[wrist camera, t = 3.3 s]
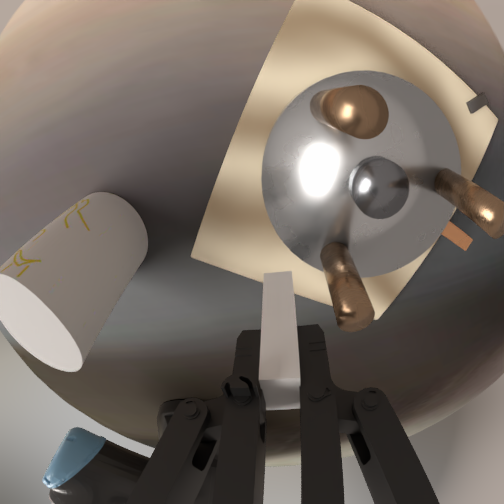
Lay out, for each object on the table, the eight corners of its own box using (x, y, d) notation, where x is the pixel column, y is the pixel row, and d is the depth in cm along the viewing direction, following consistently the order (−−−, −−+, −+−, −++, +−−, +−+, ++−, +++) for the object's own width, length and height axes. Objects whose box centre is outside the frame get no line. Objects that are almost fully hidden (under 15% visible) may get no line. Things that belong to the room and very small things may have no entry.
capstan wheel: (418, 297, 22) (451, 361, 15) (230, 224, 19) (211, 298, 12) (497, 171, 15) (559, 210, 8) (313, 35, 12) (348, -8, 5)
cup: (111, 173, 19) (5, 251, 9) (165, 251, 23) (106, 365, 13) (61, 219, 22) (-20, 296, 11) (109, 282, 25) (52, 375, 15)
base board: (372, 309, 25) (377, 322, 24) (194, 247, 22) (189, 259, 21) (489, 111, 14) (502, 114, 12) (305, -17, 11) (309, -27, 10)
